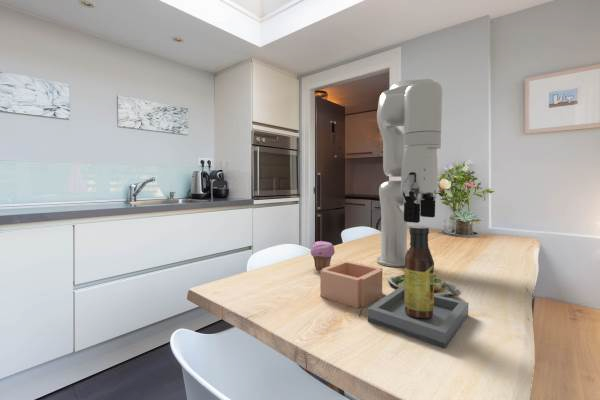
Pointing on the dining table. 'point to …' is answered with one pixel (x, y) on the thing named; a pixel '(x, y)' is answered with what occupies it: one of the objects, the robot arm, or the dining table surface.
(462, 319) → the tray
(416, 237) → the sauce bottle
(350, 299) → the square terracotta planter
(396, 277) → the salad plate
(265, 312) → the dining table surface
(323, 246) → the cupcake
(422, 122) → the robot arm
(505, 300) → the dining table surface
